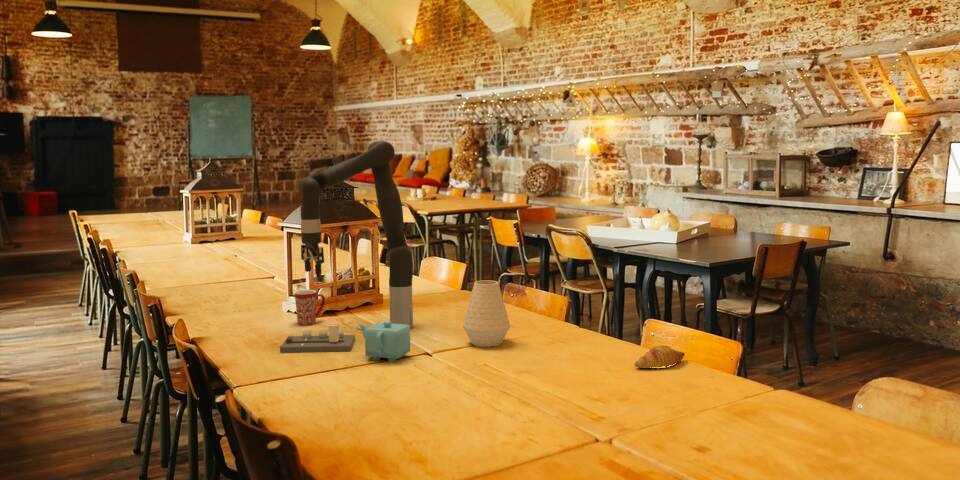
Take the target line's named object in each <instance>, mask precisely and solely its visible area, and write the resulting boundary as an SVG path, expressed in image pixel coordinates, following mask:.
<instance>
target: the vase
mask: <svg viewBox="0 0 960 480" xmlns="http://www.w3.org/2000/svg"><path fill="white" fill-rule="evenodd" d="M462 328H463V330H464V332H465V335H467V337H468V339H469V341H470V343H471V344H472V345H473V346H474V345H475V347H478V346H481V347H480V348H491V347H490V346H495V347H498V346H497V345H499V346H501V345H502V343H503V341H504V339H505V338H506V335H507V334H508V332H509V330H510V329H511V324H510V320H509V316H508V312H507V309H506V305H505V302H504V298H503V295H502V291H501V287H500V285H499V282H498V281H496V280H492V279H491V280H486V279H485V280H483V279H482V280H476V281H475V282H474V284H473V287H472V291H471V293H470V299H469V302H468V306H467V308H466V313H465V316H464V321H463V325H462ZM500 344H501V345H500Z"/></svg>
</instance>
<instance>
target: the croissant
mask: <svg viewBox="0 0 960 480" xmlns="http://www.w3.org/2000/svg"><path fill="white" fill-rule="evenodd" d="M684 357H685V352H682V351H680V350H676V349H673V348H671V347H670V346H668V345H667V346H666V345H656V346H654V347H652V348H650V349H649V350H648V351H647V352H645V354H644V355H643V356H641V357H639V358H638V360H637V361H634V366H635V368H636V367H638V368H637V369H640V368H650V367H651V368H652V367H662V366H665V367H667V366H669V365H673V364H675V363H677V362H678V363H680V362H681V361H682V360H683V359H684ZM680 360H681V361H680ZM679 361H680V362H679ZM678 363H677V364H678ZM675 365H676V364H675Z"/></svg>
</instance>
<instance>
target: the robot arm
mask: <svg viewBox="0 0 960 480" xmlns="http://www.w3.org/2000/svg"><path fill="white" fill-rule="evenodd" d="M395 152H396V151H395V148H394V145H392V143H390V142H388V141H385V140H377V141H373V142H372V143H370V144H369V145H368V147H367V150H366V151H364V152H363V153H361V154H359V155H357V156H355V157H352V158H349V159H345V160H344V161H340V162H338V163H336V164H334V165H331V166H330V167H327V168H326V169H323V170H322V171H320V172H317V173H315V174H312V175H309V176H307V177H305V178H302V179H301V180H300V181H299V183H298V185H297V191H298V192H299V194H300V195H301V197H302V201H301V202H302V203H301V205H300V238H301V244H300V250H301V251H300V253H301V254H300V256H301V257H300V258H301V259H300V260H302V261H303V263H304V271H305V272H307V273H308V272H309V273H310V272H311V271H312V262H311V260H313V262H314V271H315V272H314V273H315V274H316V275H321V274H322V264H324V263H325V255H324V254H325V253H324V247H323V246H319V244H321V243H322V241H323V239H322V224H321V214H320V212H321V211H320V203H321V202H320V201H321V191H323V190H324V189H328V188H332V187H334V186H337V185H339V184H340V183H342V182H344V181H347V180H349V179H351V178H352V177H354V176H356V175H358V174H360V173H362V172H364V171H366V170H369V169H371V173H372V177H373V181H374V189H375V194H376V195H375V196H376V201H377V206H378V212H379V216H380V220H381V224H382V226H383V229H384V232H385V237H386V248H387V260H388V263H389V276H388V284H389V285H388V293H389V295H388V297H389V299H388V301H389V302H388V303H389V321H391V322H392V323H391V324H404V325H410V329H413V328H414V303H413V277H414V276H413V275H414V272H413V271H414V270H413V268H414V265H413V261H414V260H413V254H412V252H411V250H410V249H409V247H408V246H409V245H408V243H407V240H406V237H405V232H404V213H403V212H404V211H403V205H402V199H401V196H400V192H399V189H398V186H397V185H396V183H395V181H394V179H393V176H392V172H391V171H392V170H391V165H390V162H392V160H394V158H395Z"/></svg>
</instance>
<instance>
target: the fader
mask: <svg viewBox="0 0 960 480" xmlns="http://www.w3.org/2000/svg"><path fill="white" fill-rule="evenodd" d="M339 330H340V322H330V323H329V324H328V335H329V342H338V340H339Z"/></svg>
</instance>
